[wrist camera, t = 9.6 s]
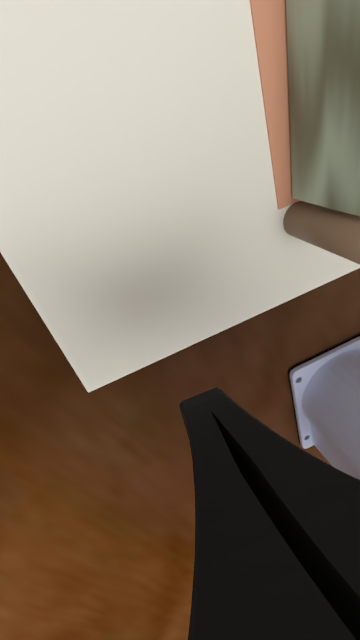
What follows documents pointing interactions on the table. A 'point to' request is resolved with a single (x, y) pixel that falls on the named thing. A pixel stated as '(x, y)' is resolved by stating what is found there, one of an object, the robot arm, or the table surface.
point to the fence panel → (325, 102)
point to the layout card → (153, 175)
